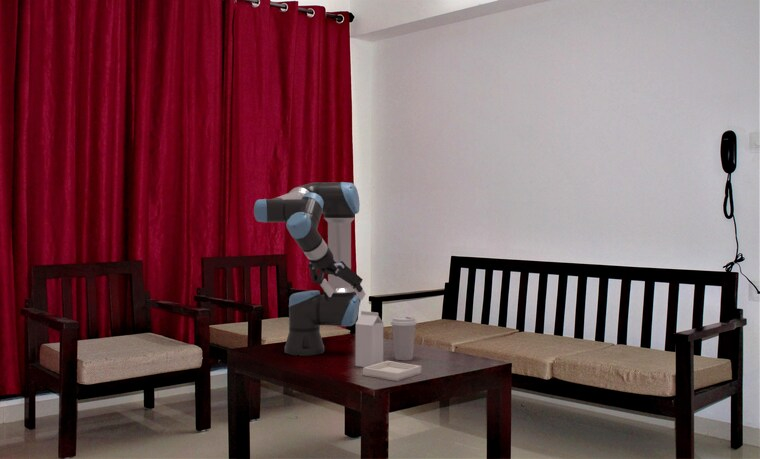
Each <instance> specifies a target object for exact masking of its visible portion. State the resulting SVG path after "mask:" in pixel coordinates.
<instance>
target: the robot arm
mask: <svg viewBox="0 0 760 459" xmlns="http://www.w3.org/2000/svg"><path fill="white" fill-rule="evenodd" d="M359 212H360V197H359V192H358V189H357V187H356V185H355V184H354V183H353V182H344V181H341V182H340V181H339V182H338V181H337V182H334V181H333V182H332V181H331V182H310V183H306V184H303V185H299V186H296V187H294V188H292V189H291V190H289V192H288V193H285V194H283V195H280V196H277V197H274V198H271V199H270V198H269V199H268V198H264V199H262V198H261V199H257V200H256V201H255V203H254V206H253V215H254V218H255V221H257V222H259V223H286V224H285V225H286V229H287V231H288V232H289V234H290V236H291V237H292V238H293V239H294V241H295V243H296V244H297V245H298V246H299V247H300V250H302V252H303V253H304V255H305V257H306V258H307V259H308V261H309V263H308V265H307V266H308V268H309V271H310V278H311V282H312V283H317V285H319V287H321V289H322V290H323V293H324V294H321V292H320V290H318V289H317V290H313V289H312V290H306V291H305V290H304V291H299V292H295V293H294V292H293V293H292V294H291V295H290V296H289V298H288V301H289V302H288V320H289V321H288V326H289V327H288V335H287V338H286V343H285V345H284V353H285V354H286V353H287V354H286V355H289V354H290V356H297V355H299V357H300V356H303V357H304V356H305V357H306V356H308V357H309V356H316V355H317V356H318V355H321V354H323V353H325V345H324V343H323V342H324V341H323V338H322V336H321V330H320V327H321V326H329V327H330V326H331V327H332V326H333V327H335V326H336V327H337V326H338V327H352V326H353V325H355V324H356V322H357V320H358V317H359V316H358V315H359V311H360V306H361V305H360V303H361V302H360V301H363V299H364V298H365V296H366V292H365V291H364V289H363V286H362V285H361V284H362V281H363V278H362V277H361V276H359V275H358V274H357V273H356V272H354V271H353V270H352V247H351V246H352V222H353V221H354V220H355V218H356V216H355V215H357V214H359ZM322 214H323V219H324V220H325V222H327V236H328V237H327V243H326V241H325V240H324V239H323V237H322V236H321V234H320V233H319V231H318V227H319V224H320V220H321V217H322ZM318 270H319V271H318ZM325 275H327V278H328V279H326V278H324V277H325ZM327 280H328V281H327Z"/></svg>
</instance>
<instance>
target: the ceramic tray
mask: <svg viewBox="0 0 760 459" xmlns="http://www.w3.org/2000/svg"><path fill="white" fill-rule="evenodd" d="M421 374H422V366H421V365H417V364H410V363H405V362H398V361H392V360H385V361H383V362H381V363H378V364H374V365H371V366H368V367H362V376H366V377H370V378H376V379H382V380H386V381H387V380H388V381H393V382H400V381H403V380H406V379H410V378H411V377H415V376H419V375H421Z"/></svg>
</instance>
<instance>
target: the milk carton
mask: <svg viewBox="0 0 760 459" xmlns="http://www.w3.org/2000/svg"><path fill="white" fill-rule="evenodd" d="M381 362H384V322H383V320H382V319H381V317H380V316H379V312H376V311H375V312H374V311H365V310H361V311H360V315H359V316H358V318H357V320H356V322H355V366H356V367H361V368H364V367H368V366H371V365H374V364H378V363H381Z"/></svg>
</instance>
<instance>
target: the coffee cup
mask: <svg viewBox="0 0 760 459" xmlns="http://www.w3.org/2000/svg"><path fill="white" fill-rule="evenodd" d="M390 324H391V327H392V339H393V351H394V359H395V360H398V361H412V360H413V359H414V356H413V355H414V346H415V335H416V325H418V323H417V320H416V318H415V317H414V316H405V315H402V316H400V315H399V316H394V317H393V318H392V320H391V322H390Z"/></svg>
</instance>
